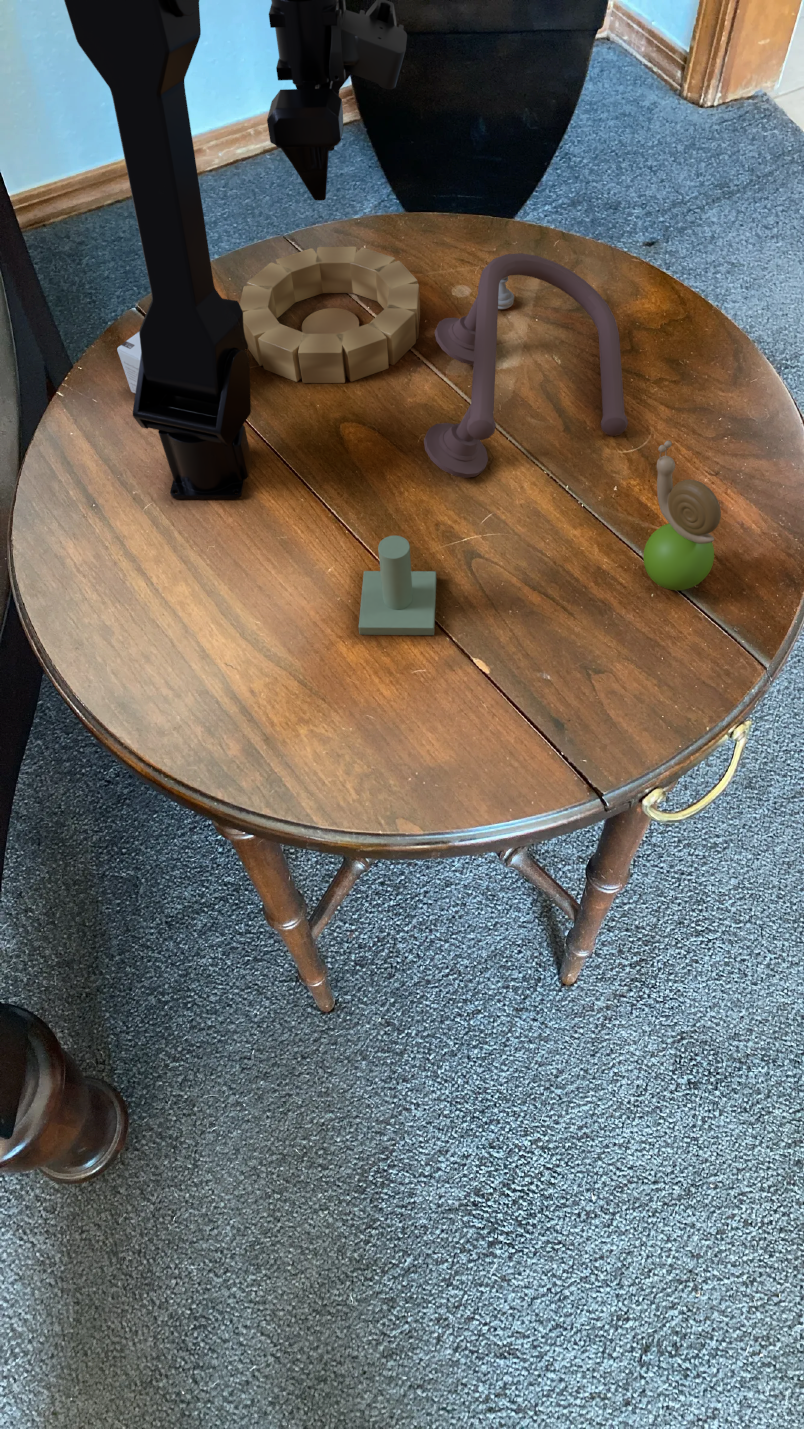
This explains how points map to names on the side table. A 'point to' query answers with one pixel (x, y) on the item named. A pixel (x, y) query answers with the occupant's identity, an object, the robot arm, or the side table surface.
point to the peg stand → (397, 594)
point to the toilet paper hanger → (477, 346)
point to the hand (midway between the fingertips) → (324, 174)
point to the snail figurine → (681, 530)
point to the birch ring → (331, 352)
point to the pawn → (504, 295)
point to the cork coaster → (330, 321)
